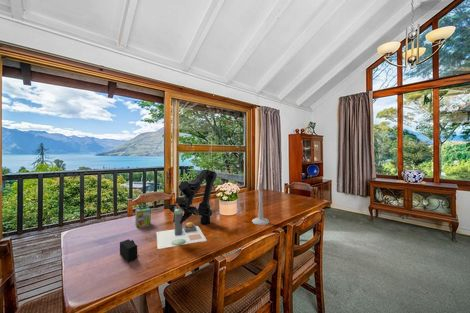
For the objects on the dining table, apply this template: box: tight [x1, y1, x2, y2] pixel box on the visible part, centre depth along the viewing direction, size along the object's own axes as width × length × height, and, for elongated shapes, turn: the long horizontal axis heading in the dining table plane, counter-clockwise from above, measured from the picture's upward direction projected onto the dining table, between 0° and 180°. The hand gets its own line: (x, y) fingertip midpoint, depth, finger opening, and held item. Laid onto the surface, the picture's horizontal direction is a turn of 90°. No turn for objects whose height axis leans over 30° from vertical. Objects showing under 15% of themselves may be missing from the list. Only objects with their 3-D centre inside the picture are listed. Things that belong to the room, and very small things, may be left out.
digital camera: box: [119, 239, 138, 264], centre depth 98 cm, size 10×5×7 cm, turn 50°
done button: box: [185, 221, 194, 228], centre depth 131 cm, size 4×4×2 cm
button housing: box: [183, 223, 196, 232], centre depth 131 cm, size 7×7×2 cm
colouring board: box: [156, 225, 207, 250], centre depth 121 cm, size 27×24×1 cm
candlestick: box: [251, 182, 270, 226], centre depth 147 cm, size 13×13×30 cm
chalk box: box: [134, 203, 152, 229], centre depth 140 cm, size 9×9×15 cm
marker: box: [173, 209, 184, 235], centre depth 113 cm, size 5×5×14 cm
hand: (177, 223), depth 112 cm, fingers closed on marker, 4 cm apart
